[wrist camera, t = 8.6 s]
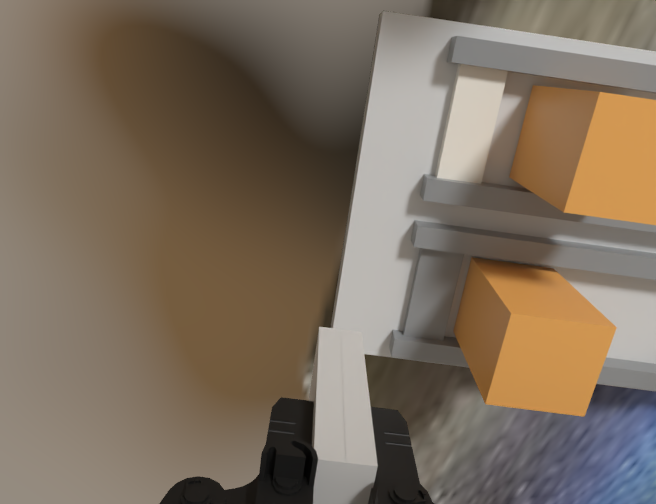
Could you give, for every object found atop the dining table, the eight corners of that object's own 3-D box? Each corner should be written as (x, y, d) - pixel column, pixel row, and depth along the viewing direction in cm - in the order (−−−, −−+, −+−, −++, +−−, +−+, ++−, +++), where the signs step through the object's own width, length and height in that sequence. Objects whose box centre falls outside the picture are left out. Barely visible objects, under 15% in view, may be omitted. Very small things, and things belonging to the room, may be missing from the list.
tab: (553, 268, 25) (616, 327, 19) (530, 341, 26) (584, 416, 21) (471, 257, 25) (511, 313, 19) (453, 331, 26) (485, 403, 21)
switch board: (851, 85, 24) (919, 88, 21) (716, 381, 29) (757, 414, 27) (379, 15, 23) (385, 8, 20) (330, 330, 29) (329, 359, 26)
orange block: (624, 98, 22) (721, 109, 17) (595, 189, 24) (676, 228, 18) (532, 85, 22) (599, 92, 17) (509, 177, 24) (563, 212, 18)
